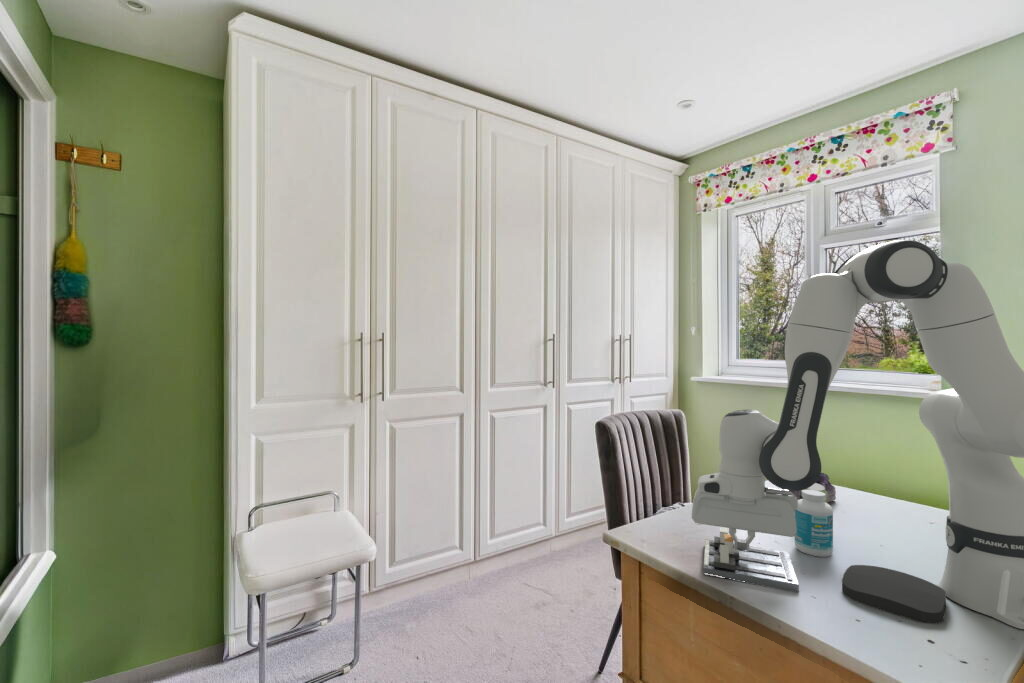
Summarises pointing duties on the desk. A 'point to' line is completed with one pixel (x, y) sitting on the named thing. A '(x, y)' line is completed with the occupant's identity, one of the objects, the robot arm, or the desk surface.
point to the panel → (755, 567)
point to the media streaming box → (895, 593)
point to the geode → (828, 486)
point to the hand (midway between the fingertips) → (741, 549)
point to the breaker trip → (730, 547)
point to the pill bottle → (814, 524)
